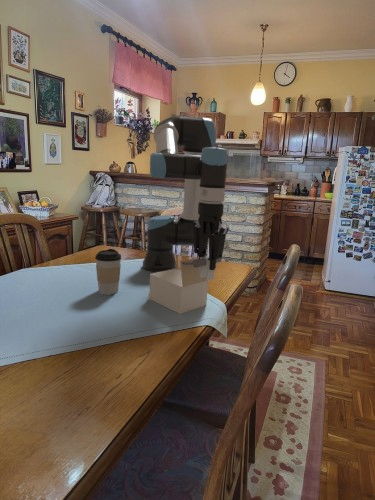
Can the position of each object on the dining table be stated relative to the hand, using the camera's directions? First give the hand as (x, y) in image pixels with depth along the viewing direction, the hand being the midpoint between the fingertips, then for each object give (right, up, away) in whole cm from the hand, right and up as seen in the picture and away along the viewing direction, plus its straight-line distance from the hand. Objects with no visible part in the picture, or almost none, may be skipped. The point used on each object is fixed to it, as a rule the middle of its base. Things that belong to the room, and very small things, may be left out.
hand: (205, 278), depth 110 cm
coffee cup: (-34, -6, +19) cm, 40 cm away
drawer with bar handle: (-4, +2, +4) cm, 6 cm away
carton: (-9, -9, +12) cm, 18 cm away
